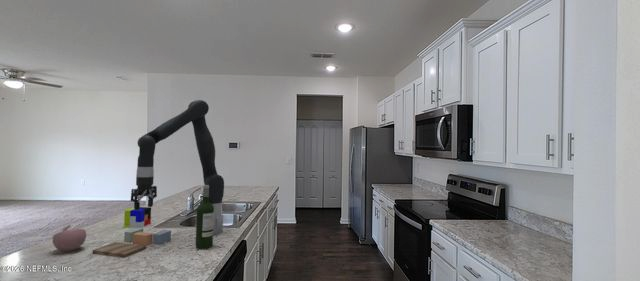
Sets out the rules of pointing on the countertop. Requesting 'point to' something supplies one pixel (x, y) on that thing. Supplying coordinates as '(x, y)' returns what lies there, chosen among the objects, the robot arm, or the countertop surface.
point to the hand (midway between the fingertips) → (143, 208)
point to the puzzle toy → (137, 217)
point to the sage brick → (131, 234)
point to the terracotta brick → (142, 238)
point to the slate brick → (161, 237)
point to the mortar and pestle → (69, 239)
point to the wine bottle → (204, 222)
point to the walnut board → (119, 249)
